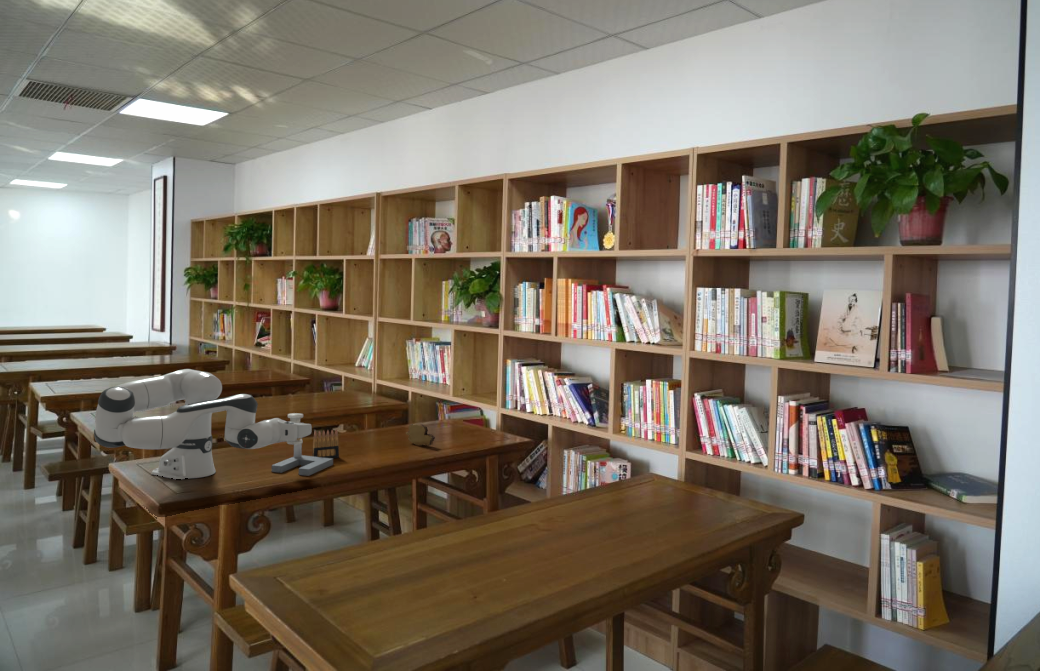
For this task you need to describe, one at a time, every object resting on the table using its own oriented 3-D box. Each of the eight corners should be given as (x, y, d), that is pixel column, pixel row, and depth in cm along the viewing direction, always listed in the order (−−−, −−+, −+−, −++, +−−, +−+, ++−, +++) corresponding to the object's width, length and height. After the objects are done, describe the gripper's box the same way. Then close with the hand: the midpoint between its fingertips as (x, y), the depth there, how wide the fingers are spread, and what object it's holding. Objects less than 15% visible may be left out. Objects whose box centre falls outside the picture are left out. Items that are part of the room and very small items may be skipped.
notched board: (271, 471, 274) (271, 444, 273) (297, 460, 291) (298, 435, 291) (308, 475, 270) (308, 448, 269) (332, 464, 287) (333, 438, 287)
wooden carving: (437, 446, 325) (437, 425, 324) (431, 448, 321) (431, 426, 320) (409, 441, 333) (409, 420, 332) (402, 443, 329) (403, 422, 328)
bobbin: (284, 443, 271) (284, 415, 270) (292, 440, 276) (293, 412, 275) (297, 445, 269) (297, 416, 268) (305, 442, 275) (306, 414, 274)
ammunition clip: (313, 460, 293) (313, 431, 293) (312, 459, 295) (312, 430, 294) (339, 457, 299) (339, 429, 298) (337, 456, 301) (338, 428, 300)
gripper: (250, 436, 263) (273, 430, 276) (298, 441, 257) (319, 434, 270) (250, 419, 263) (273, 413, 276) (298, 424, 257) (319, 418, 270)
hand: (296, 424), depth 273 cm, fingers closed on bobbin, 4 cm apart
